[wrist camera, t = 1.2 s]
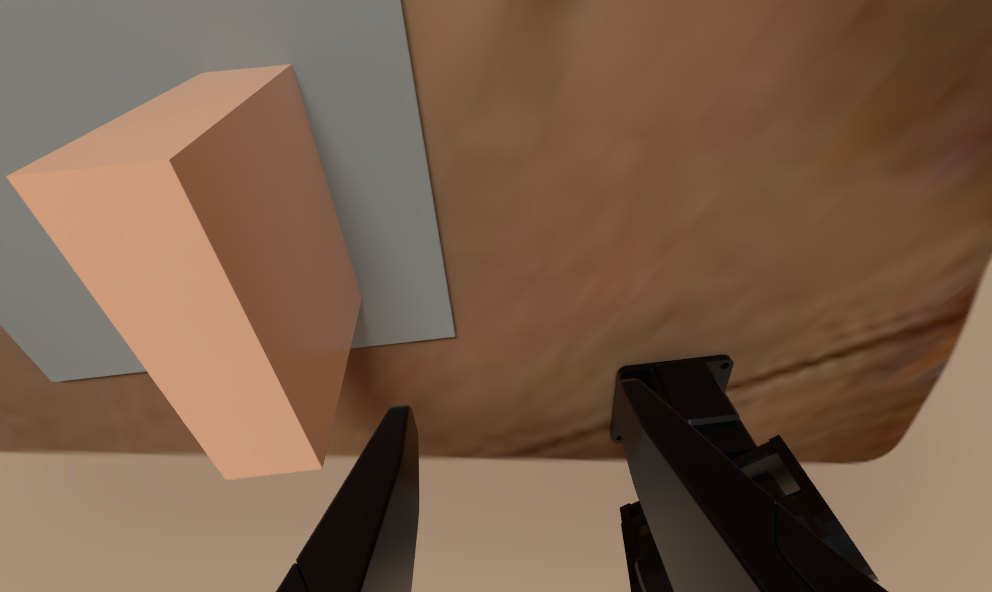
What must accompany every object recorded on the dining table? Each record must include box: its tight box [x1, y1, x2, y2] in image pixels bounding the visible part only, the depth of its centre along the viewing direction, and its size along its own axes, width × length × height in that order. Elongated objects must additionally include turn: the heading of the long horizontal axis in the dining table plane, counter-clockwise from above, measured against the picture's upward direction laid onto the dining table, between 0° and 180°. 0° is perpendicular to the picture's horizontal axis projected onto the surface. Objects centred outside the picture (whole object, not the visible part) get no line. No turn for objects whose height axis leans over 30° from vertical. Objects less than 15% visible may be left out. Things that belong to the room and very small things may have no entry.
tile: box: [6, 64, 362, 480], centre depth 16 cm, size 10×3×9 cm, turn 4°
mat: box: [0, 0, 455, 382], centre depth 19 cm, size 16×20×1 cm
